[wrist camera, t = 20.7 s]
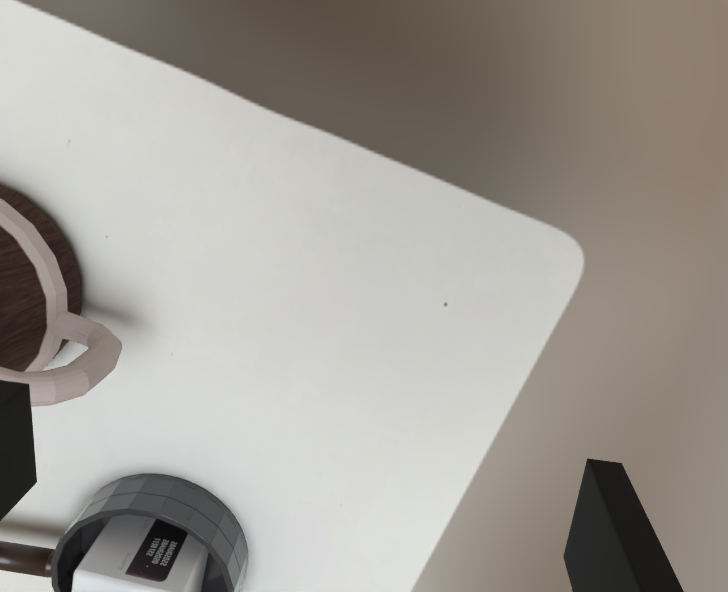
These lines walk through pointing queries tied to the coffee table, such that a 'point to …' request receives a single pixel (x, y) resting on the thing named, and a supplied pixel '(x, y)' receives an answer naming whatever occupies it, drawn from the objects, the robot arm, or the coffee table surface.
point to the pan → (170, 505)
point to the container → (141, 558)
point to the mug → (44, 309)
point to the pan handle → (25, 559)
